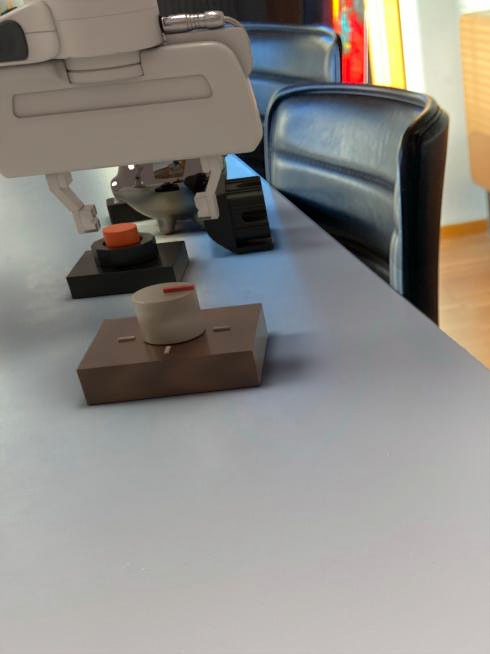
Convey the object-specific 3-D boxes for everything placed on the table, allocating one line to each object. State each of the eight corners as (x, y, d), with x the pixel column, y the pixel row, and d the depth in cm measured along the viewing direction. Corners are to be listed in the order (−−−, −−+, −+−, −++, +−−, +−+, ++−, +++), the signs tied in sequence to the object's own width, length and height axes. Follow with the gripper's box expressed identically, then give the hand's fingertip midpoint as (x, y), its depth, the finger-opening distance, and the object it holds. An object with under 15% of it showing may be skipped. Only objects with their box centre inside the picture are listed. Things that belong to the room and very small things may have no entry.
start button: (103, 251, 107) (98, 233, 106) (109, 241, 110) (105, 224, 109) (138, 247, 107) (133, 230, 106) (143, 238, 110) (138, 221, 109)
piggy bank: (126, 223, 131) (100, 124, 124) (243, 207, 133) (223, 110, 126) (120, 245, 122) (91, 141, 115) (245, 229, 124) (224, 125, 117)
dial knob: (138, 347, 84) (125, 301, 81) (147, 326, 88) (135, 282, 85) (201, 340, 84) (190, 294, 82) (208, 320, 88) (197, 275, 86)
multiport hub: (197, 211, 133) (193, 192, 132) (111, 224, 131) (106, 205, 129) (194, 204, 136) (190, 186, 135) (110, 216, 134) (105, 198, 133)
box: (72, 298, 106) (60, 259, 104) (91, 270, 114) (80, 233, 112) (178, 287, 107) (168, 248, 104) (189, 260, 115) (180, 223, 112)
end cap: (211, 236, 122) (197, 175, 118) (269, 228, 123) (258, 168, 119) (211, 258, 115) (196, 195, 111) (274, 250, 115) (262, 186, 111)
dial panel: (87, 405, 82) (75, 367, 81) (113, 352, 92) (103, 317, 90) (259, 385, 83) (251, 348, 81) (268, 335, 93) (261, 300, 91)
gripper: (246, 3, 75) (282, 200, 84) (-33, 32, 74) (31, 228, 83) (240, 11, 70) (279, 220, 79) (-60, 42, 69) (11, 250, 78)
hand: (150, 224), depth 81 cm, fingers open, 8 cm apart
